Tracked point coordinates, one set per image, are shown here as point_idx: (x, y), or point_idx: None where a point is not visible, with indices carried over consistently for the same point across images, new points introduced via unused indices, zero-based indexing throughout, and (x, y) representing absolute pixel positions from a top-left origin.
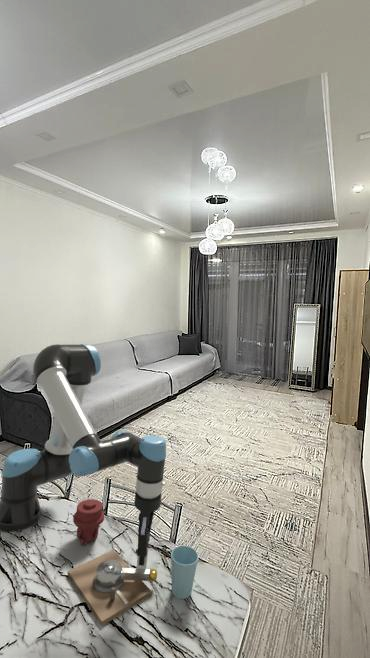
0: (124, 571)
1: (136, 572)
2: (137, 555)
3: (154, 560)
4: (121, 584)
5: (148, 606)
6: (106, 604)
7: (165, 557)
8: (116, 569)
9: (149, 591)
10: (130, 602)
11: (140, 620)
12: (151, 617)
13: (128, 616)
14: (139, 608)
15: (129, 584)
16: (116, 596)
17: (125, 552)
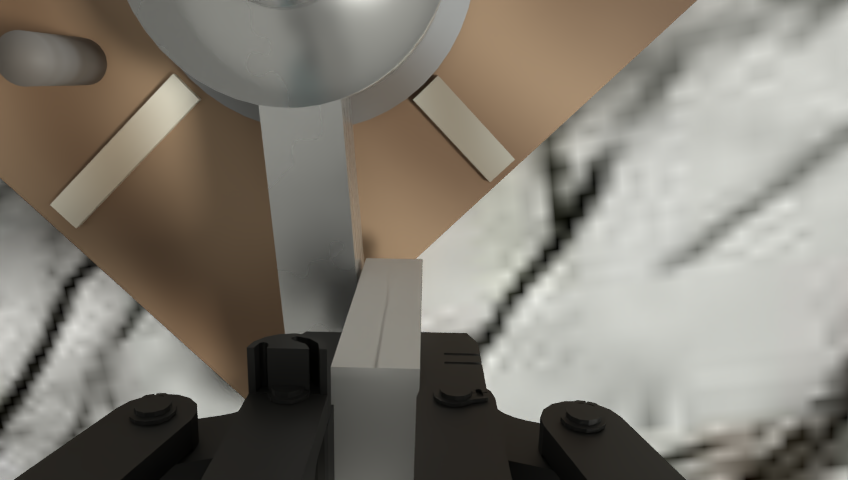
0: (283, 142)
1: (291, 288)
2: (122, 410)
3: (683, 375)
4: (254, 118)
5: (150, 380)
6: (14, 14)
7: (727, 471)
8: (284, 31)
9: (245, 391)
10: (89, 242)
11: (8, 335)
12: (55, 414)
13: (19, 234)
14: (115, 312)
15: None
16: (128, 94)
17: (796, 57)
